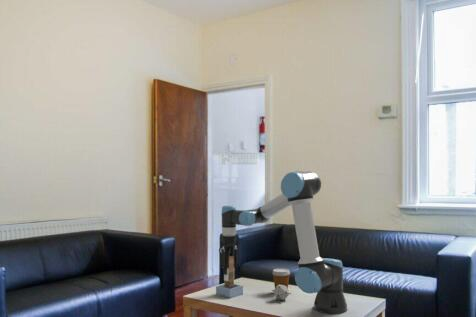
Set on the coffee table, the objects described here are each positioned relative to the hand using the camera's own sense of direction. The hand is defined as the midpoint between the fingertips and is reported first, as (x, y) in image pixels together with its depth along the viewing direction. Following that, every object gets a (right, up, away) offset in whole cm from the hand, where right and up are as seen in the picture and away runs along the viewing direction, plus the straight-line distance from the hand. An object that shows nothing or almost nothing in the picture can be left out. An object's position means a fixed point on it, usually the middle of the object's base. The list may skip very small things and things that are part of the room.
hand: (229, 279), depth 236 cm
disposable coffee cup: (+28, -8, +2) cm, 29 cm away
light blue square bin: (0, -8, 0) cm, 8 cm away
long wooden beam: (0, -4, 0) cm, 4 cm away
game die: (+26, -7, -12) cm, 30 cm away
